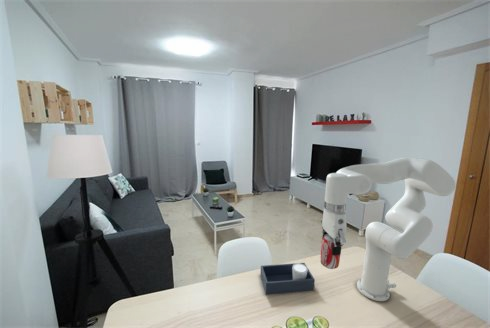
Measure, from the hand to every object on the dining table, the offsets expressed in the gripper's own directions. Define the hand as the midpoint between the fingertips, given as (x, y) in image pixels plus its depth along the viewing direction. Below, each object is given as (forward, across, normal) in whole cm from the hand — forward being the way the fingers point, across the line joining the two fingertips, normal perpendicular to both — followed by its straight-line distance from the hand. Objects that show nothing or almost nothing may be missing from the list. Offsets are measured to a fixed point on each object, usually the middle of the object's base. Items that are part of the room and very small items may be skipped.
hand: (330, 248), depth 87 cm
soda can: (+7, 0, 0) cm, 7 cm away
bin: (+24, +12, +13) cm, 30 cm away
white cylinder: (+24, +12, +7) cm, 28 cm away
